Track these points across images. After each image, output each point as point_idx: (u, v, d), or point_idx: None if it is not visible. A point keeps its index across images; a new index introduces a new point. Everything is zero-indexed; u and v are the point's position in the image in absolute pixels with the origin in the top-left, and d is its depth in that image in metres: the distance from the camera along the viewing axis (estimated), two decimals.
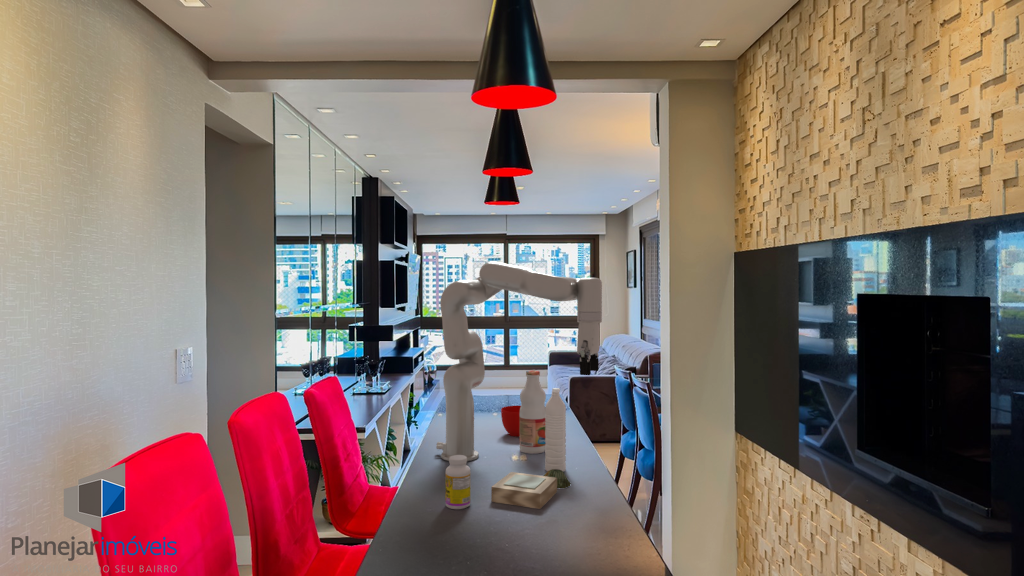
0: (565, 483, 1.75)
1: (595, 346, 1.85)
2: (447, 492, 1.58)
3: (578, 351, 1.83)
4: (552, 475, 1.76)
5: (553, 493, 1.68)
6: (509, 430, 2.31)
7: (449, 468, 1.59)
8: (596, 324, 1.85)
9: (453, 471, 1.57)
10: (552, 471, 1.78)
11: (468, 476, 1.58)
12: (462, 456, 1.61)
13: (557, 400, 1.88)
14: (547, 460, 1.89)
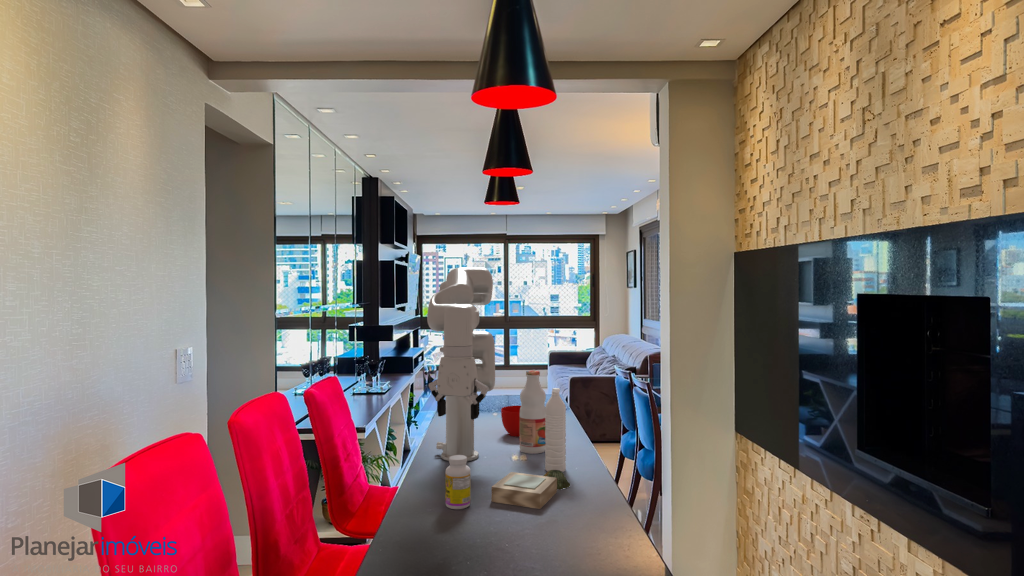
0: (564, 484, 1.74)
1: None
2: (447, 492, 1.58)
3: (471, 392, 1.56)
4: (551, 476, 1.76)
5: (553, 493, 1.68)
6: (509, 430, 2.31)
7: (449, 468, 1.59)
8: None
9: (453, 471, 1.57)
10: (551, 472, 1.78)
11: (468, 476, 1.58)
12: (462, 456, 1.61)
13: (557, 400, 1.88)
14: (547, 460, 1.89)
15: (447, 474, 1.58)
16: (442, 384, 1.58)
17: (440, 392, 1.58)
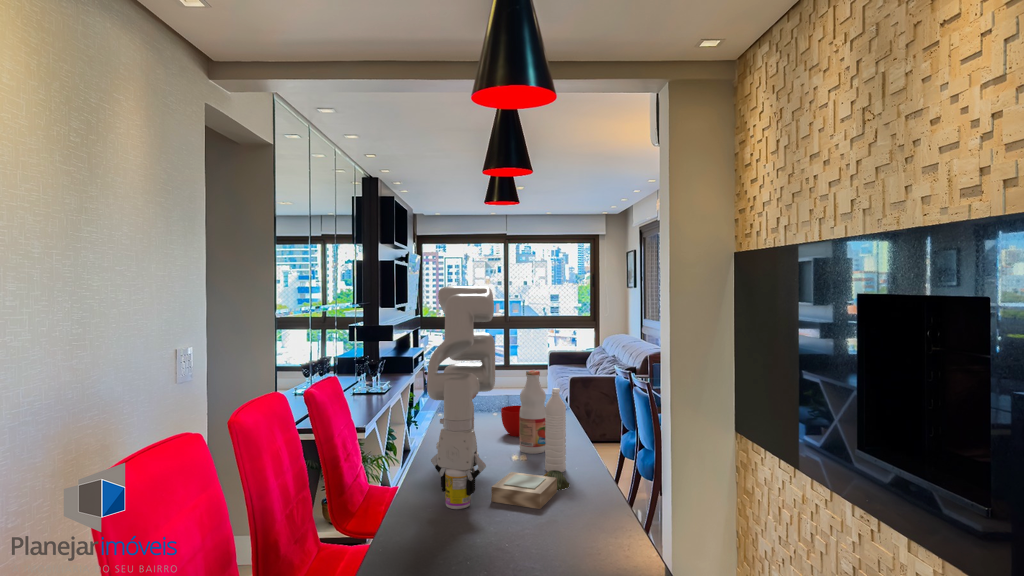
0: (564, 484, 1.74)
1: None
2: (447, 492, 1.58)
3: (471, 467, 1.56)
4: (551, 476, 1.75)
5: (553, 493, 1.68)
6: (509, 430, 2.31)
7: None
8: None
9: (453, 471, 1.57)
10: (551, 472, 1.77)
11: None
12: None
13: (558, 400, 1.88)
14: (547, 460, 1.89)
15: (447, 474, 1.58)
16: (442, 457, 1.58)
17: (440, 465, 1.59)
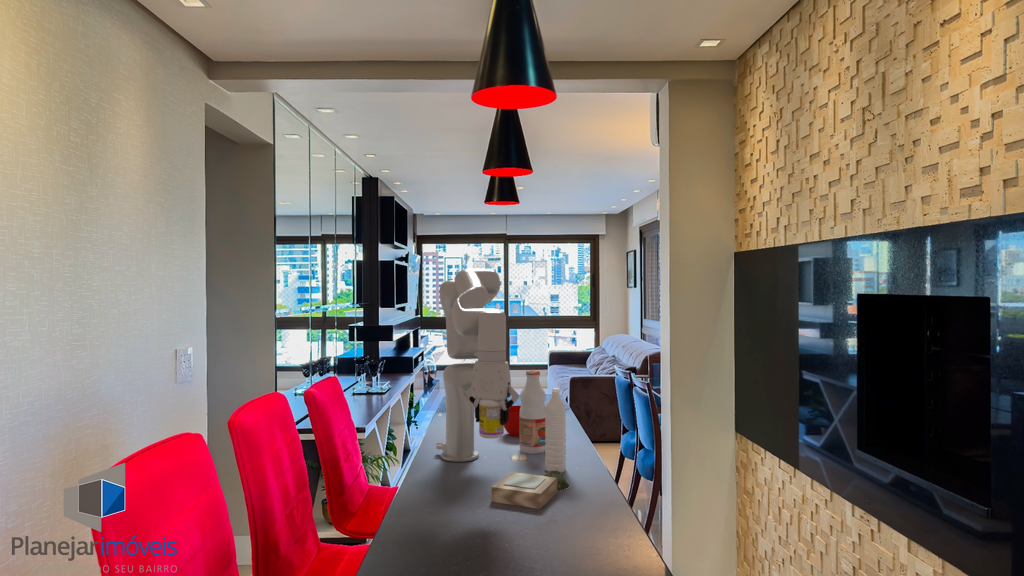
0: (563, 485, 1.73)
1: None
2: (481, 422, 1.61)
3: (505, 396, 1.59)
4: None
5: (553, 493, 1.68)
6: (509, 430, 2.31)
7: (483, 399, 1.62)
8: None
9: (487, 401, 1.60)
10: (550, 473, 1.77)
11: (501, 406, 1.61)
12: None
13: (557, 400, 1.88)
14: (547, 460, 1.89)
15: (481, 404, 1.61)
16: (476, 388, 1.62)
17: (474, 395, 1.62)
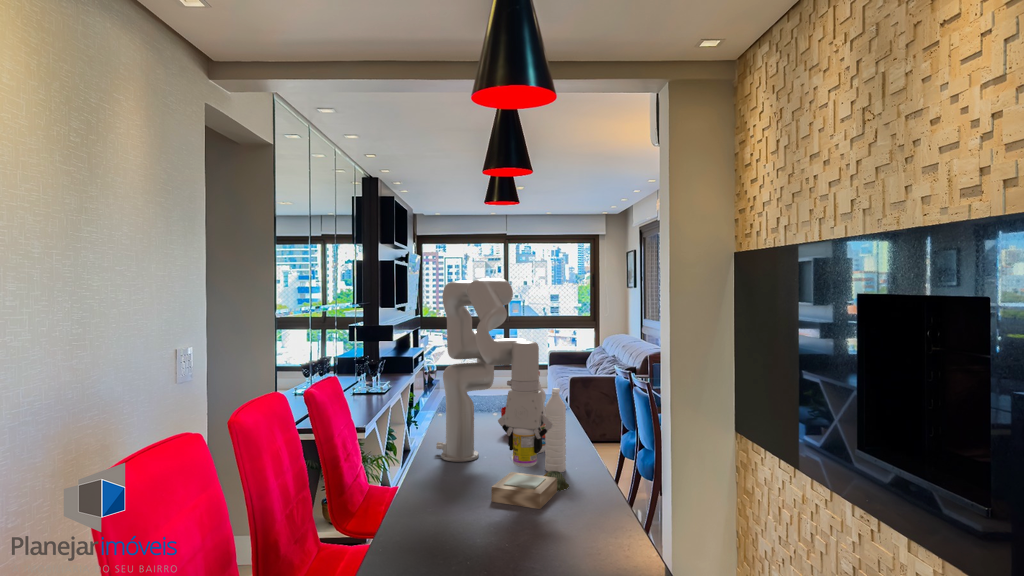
0: (563, 485, 1.73)
1: None
2: (515, 450, 1.64)
3: (539, 425, 1.63)
4: None
5: (553, 493, 1.68)
6: None
7: None
8: None
9: (521, 430, 1.64)
10: (550, 473, 1.77)
11: (535, 435, 1.65)
12: None
13: (557, 400, 1.88)
14: (547, 460, 1.89)
15: (515, 433, 1.64)
16: (510, 417, 1.65)
17: (508, 424, 1.65)
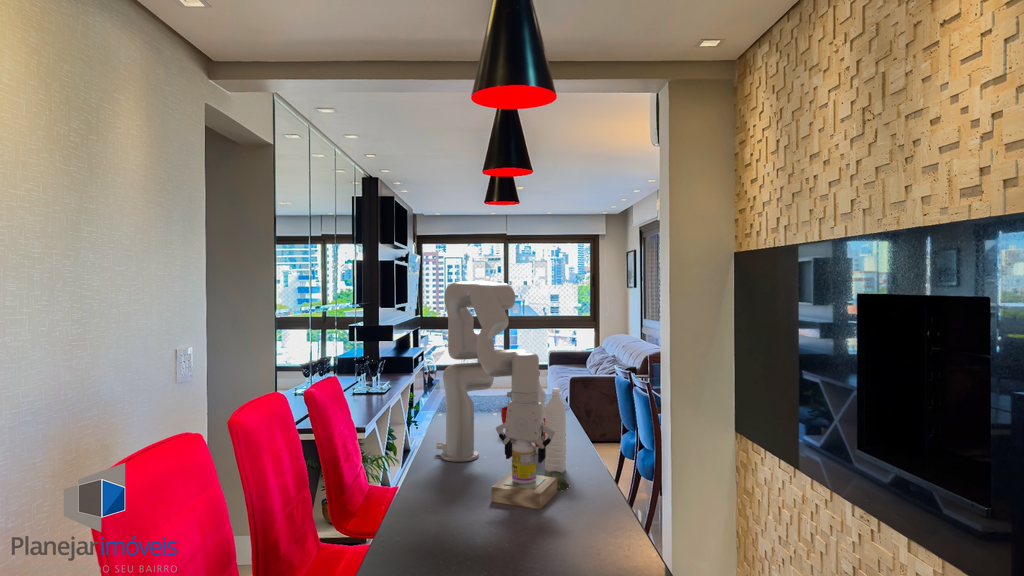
0: (563, 485, 1.73)
1: None
2: (514, 467, 1.65)
3: (539, 437, 1.63)
4: None
5: (553, 493, 1.68)
6: None
7: (516, 444, 1.65)
8: None
9: (520, 447, 1.64)
10: (551, 473, 1.77)
11: (534, 452, 1.65)
12: None
13: (557, 400, 1.88)
14: (547, 460, 1.89)
15: (514, 450, 1.65)
16: (510, 428, 1.65)
17: (508, 436, 1.65)
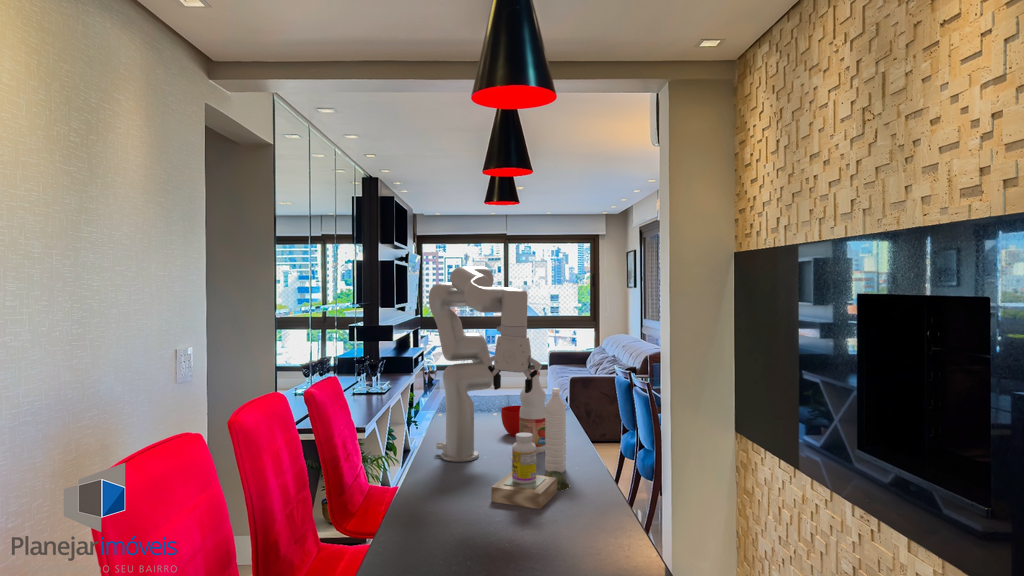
0: (563, 485, 1.73)
1: None
2: (515, 467, 1.65)
3: (526, 369, 1.71)
4: None
5: (553, 493, 1.68)
6: (509, 430, 2.31)
7: (516, 445, 1.65)
8: None
9: (521, 447, 1.64)
10: (551, 473, 1.77)
11: (534, 452, 1.65)
12: (528, 433, 1.68)
13: (557, 400, 1.88)
14: (547, 460, 1.89)
15: (515, 450, 1.65)
16: (499, 360, 1.74)
17: (497, 367, 1.74)
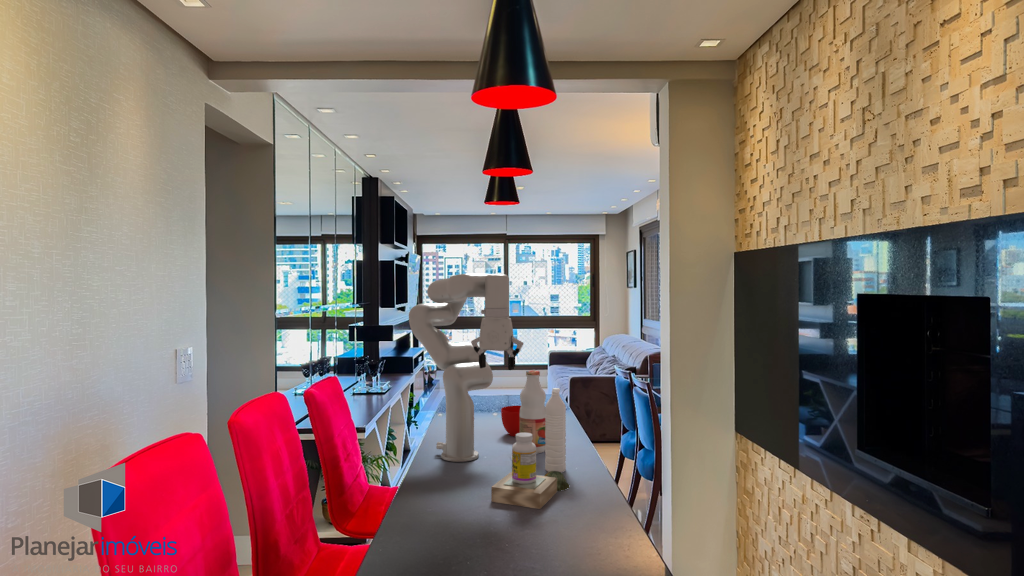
0: (563, 485, 1.73)
1: None
2: (514, 468, 1.65)
3: (508, 347, 1.84)
4: None
5: (553, 493, 1.68)
6: (509, 430, 2.31)
7: (516, 445, 1.65)
8: None
9: (521, 447, 1.64)
10: (551, 473, 1.77)
11: (534, 452, 1.65)
12: (528, 433, 1.68)
13: (557, 400, 1.88)
14: (547, 460, 1.89)
15: (515, 450, 1.65)
16: (483, 340, 1.87)
17: (482, 347, 1.87)
